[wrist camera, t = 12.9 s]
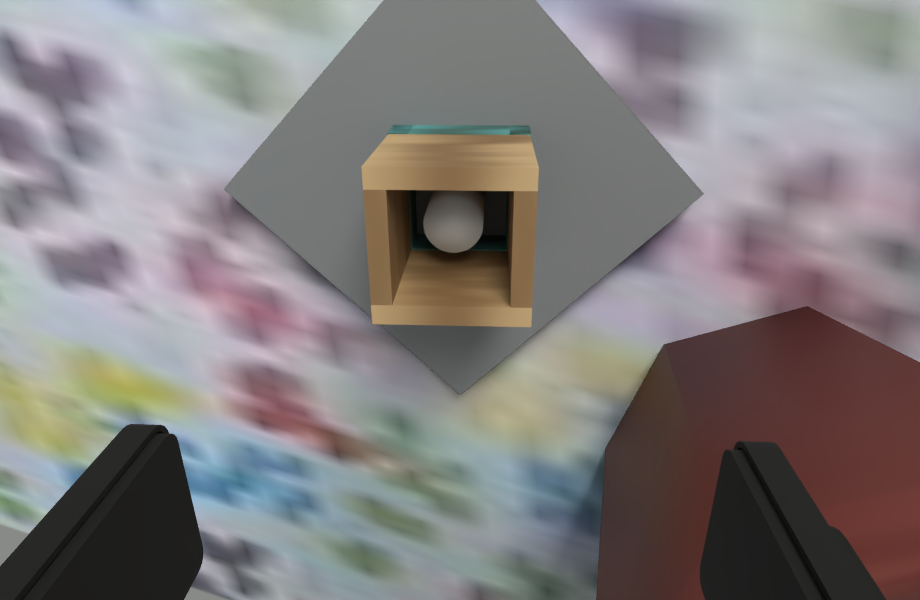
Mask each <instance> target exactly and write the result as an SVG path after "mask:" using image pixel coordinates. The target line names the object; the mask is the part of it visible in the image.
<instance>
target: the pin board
mask: <svg viewBox="0 0 920 600" xmlns="http://www.w3.org/2000/svg"><path fill="white" fill-rule="evenodd" d="M393 125H514V126H529V127H530V131H531V140H532V144H533V148H534V152H535V155H536V159H537V163H538V166H539V176H538V197H537V218H536V239H535V259H534V280H533V301H532V321H531V327H494V326H442V325H391V324H379V325H381V326H382V327H383V328H384V329H385V330H386V331H387V332H389V333H390V334H391V335H392V336H393V337H394V338H396V339H397V340H398V341H399V342H400V343H401V344H402V345H404V346H405V347H406V348H407V349H408V350H409V351H410V352H412V353H413V354H414V355H415V356H416V357H417V358H419V359H420V360H421V361H422V362H423V363H424V364H425V365H427V366H428V367H429V368H430V369H431V370H432V371H434V372H435V373H436V374H437V375H438V376H439V377H440V378H442V379H443V380H444V381H445V382H446V383H447V384H448V385H450V386H451V387H452V388H453V389H454V390H455V391H457V392H458V393H459V394H460V395H461V394H462V393H463V392H464V391H466V390H467V389H468V388H469V387H470V386H472V385H473V384H474V383H475V382H476V381H478V380H479V379H480V378H481V377H483V376H484V375H485V374H486V373H487V372H489V371H490V370H491V369H492V368H493V367H495V366H496V365H497V364H498V363H499V362H501V361H502V360H503V359H504V358H506V357H507V356H508V355H509V354H510V353H512V352H513V351H514V350H515V349H516V348H518V347H519V346H520V345H521V344H523V343H524V342H525V341H526V340H527V339H529V338H530V337H531V336H532V335H533V334H535V333H536V332H537V331H538V330H539V329H541V328H542V327H543V326H544V325H546V324H547V323H548V322H549V321H550V320H552V319H553V318H554V317H555V316H556V315H558V314H559V313H560V312H561V311H563V310H564V309H565V308H566V307H567V306H569V305H570V304H571V303H572V302H573V301H575V300H576V299H577V298H578V297H579V296H581V295H582V294H583V293H584V292H586V291H587V290H588V289H589V288H590V287H592V286H593V285H594V284H595V283H596V282H598V281H599V280H600V279H601V278H603V277H604V276H605V275H606V274H607V273H609V272H610V271H611V270H612V269H613V268H615V267H616V266H617V265H618V264H619V263H621V262H622V261H623V260H624V259H626V258H627V257H628V256H629V255H630V254H632V253H633V252H634V251H635V250H636V249H638V248H639V247H640V246H641V245H643V244H644V243H645V242H646V241H647V240H649V239H650V238H651V237H652V236H653V235H655V234H656V233H657V232H658V231H659V230H661V229H662V228H663V227H664V226H666V225H667V224H668V223H669V222H670V221H672V220H673V219H674V218H675V217H676V216H678V215H679V214H680V213H681V212H683V211H684V210H685V209H686V208H687V207H689V206H690V205H691V204H692V203H693V202H695V201H696V200H697V199H698V198H699V197H701V196H702V195H703V192H702V191H701V190H700V189H699V188H698V187H697V185H696V184H695V183H694V182H693V181H692V180H691V179H690V177H689V176H688V175H687V174H686V173H685V172H684V171H683V169H682V168H681V167H680V166H679V165H678V164H677V163H676V161H675V160H674V159H673V158H672V157H671V156H670V154H669V153H668V152H667V151H666V150H665V149H664V148H663V146H662V145H661V144H660V143H659V142H658V141H657V140H656V138H655V137H654V136H653V135H652V134H651V133H650V132H649V130H648V129H647V128H646V127H645V126H644V125H643V123H642V122H641V121H640V120H639V119H638V118H637V117H636V115H635V114H634V113H633V112H632V111H631V110H630V109H629V107H628V106H627V105H626V104H625V103H624V102H623V101H622V99H621V98H620V97H619V96H618V95H617V94H616V92H615V91H614V90H613V89H612V88H611V87H610V86H609V84H608V83H607V82H606V81H605V80H604V79H603V78H602V76H601V75H600V74H599V73H598V72H597V71H596V70H595V68H594V67H593V66H592V65H591V64H590V63H589V62H588V60H587V59H586V58H585V57H584V56H583V55H582V53H581V52H580V51H579V50H578V49H577V48H576V47H575V45H574V44H573V43H572V42H571V41H570V40H569V39H568V37H567V36H566V35H565V34H564V33H563V32H562V31H561V29H560V28H559V27H558V26H557V25H556V24H555V22H554V21H553V20H552V19H551V18H550V17H549V16H548V14H547V13H546V12H545V11H544V10H543V9H542V8H541V6H540V5H539V4H538V3H537V2H536V1H535V0H384V1H383V2H382V3H381V4H380V5H379V7H378V8H377V9H376V10H375V11H374V12H373V14H372V15H371V16H370V17H369V18H368V19H367V21H366V22H365V23H364V24H363V25H362V27H361V28H360V29H359V30H358V31H357V32H356V34H355V35H354V36H353V37H352V38H351V40H350V41H349V42H348V43H347V44H346V45H345V47H344V48H343V49H342V50H341V51H340V53H339V54H338V55H337V56H336V57H335V58H334V60H333V61H332V62H331V63H330V64H329V66H328V67H327V68H326V69H325V70H324V71H323V73H322V74H321V75H320V76H319V77H318V78H317V80H316V81H315V82H314V83H313V84H312V86H311V87H310V88H309V89H308V90H307V91H306V93H305V94H304V95H303V96H302V97H301V99H300V100H299V101H298V102H297V103H296V104H295V106H294V107H293V108H292V109H291V110H290V112H289V113H288V114H287V115H286V116H285V117H284V119H283V120H282V121H281V122H280V123H279V125H278V126H277V127H276V128H275V129H274V130H273V132H272V133H271V134H270V135H269V136H268V138H267V139H266V140H265V141H264V142H263V143H262V145H261V146H260V147H259V148H258V149H257V150H256V152H255V153H254V154H253V155H252V156H251V158H250V159H249V160H248V161H247V162H246V163H245V165H244V166H243V167H242V168H241V169H240V171H239V172H238V173H237V174H236V175H235V176H234V178H233V179H232V180H231V181H230V182H229V184H228V185H227V186H226V187H225V188H224V190H225V191H226V192H227V193H229V194H230V195H231V196H232V197H233V198H234V199H235V200H237V201H238V202H239V203H240V204H241V205H242V206H244V207H245V208H246V209H247V210H248V211H249V212H250V213H252V214H253V215H254V216H255V217H256V218H257V219H258V220H260V221H261V222H262V223H263V224H264V225H265V226H267V227H268V228H269V229H270V230H271V231H272V232H273V233H275V234H276V235H277V236H278V237H279V238H280V239H282V240H283V241H284V242H285V243H286V244H287V245H288V246H290V247H291V248H292V249H293V250H294V251H295V252H296V253H298V254H299V255H300V256H301V257H302V258H303V259H305V260H306V261H307V262H308V263H309V264H310V265H311V266H313V267H314V268H315V269H316V270H317V271H318V272H320V273H321V274H322V275H323V276H324V277H325V278H326V279H328V280H329V281H330V282H331V283H332V284H333V285H334V286H336V287H337V288H338V289H339V290H340V291H341V292H343V293H344V294H345V295H346V296H347V297H348V298H349V299H351V300H352V301H353V302H354V303H355V304H356V305H358V306H359V307H360V308H361V309H362V310H363V311H364V312H366V313H367V314H368V315H369V316H370V317H371V318H372V313H371V298H370V284H369V269H368V255H367V240H366V226H365V211H364V197H363V182H362V167H361V166H362V165H363V164H364V163H365V162H366V160H367V159H368V158H369V157H370V156H371V154H372V153H373V152H374V151H375V150H376V148H377V147H378V146H379V145H380V143H381V142H382V141H383V140H384V139H385V137H386V136H387V132H388V131H389V130H390V129H391V128H392V126H393ZM506 210H507V191H455V190H416V213H417V234H426V236H427V238H428V240H429V241H430V242H431V243H432V244H433V245H434V246H435V247H436V248H438V249H440V250H442V251H445V252H449V253H458V252H463V251H466V250H468V249H470V248H471V247H472V246H474V245H475V244H476V243H477V241H478V240H479V238H480V237H481V235H505V236H506Z"/></svg>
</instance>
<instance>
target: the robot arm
mask: <svg viewBox="0 0 920 600" xmlns="http://www.w3.org/2000/svg"><path fill="white" fill-rule="evenodd" d="M202 560H203V545H202V541H201V537H200V533H199V528H198V524H197V520H196V516H195V511H194V507H193V503H192V499H191V494H190V490H189V486H188V482H187V477H186V473H185V469H184V465H183V461H182V456H181V452H180V448H179V444H178V440H177V437H176V436H175V435H174V434H169V432H168V430H167V429H166V427H165V426H162V425H143V424H130V425H127V426H126V427H124V428H123V429H122V430H121V431H120V432H119V434H118V435H117V436H116V437H115V438H114V439H113V440H112V441H111V442H110V444H109V445H108V446H107V447H106V448H105V449H104V450H103V451H102V453H101V454H100V455H99V456H98V457H97V458H96V459H95V460H94V462H93V463H92V464H91V465H90V466H89V467H88V468H87V469H86V471H85V472H84V473H83V474H82V475H81V476H80V477H79V478H78V480H77V481H76V482H75V483H74V484H73V485H72V486H71V487H70V489H69V490H68V491H67V492H66V493H65V494H64V495H63V496H62V498H61V499H60V500H59V501H58V502H57V503H56V504H55V505H54V507H53V508H52V509H51V510H50V511H49V512H48V513H47V514H46V516H45V517H44V518H43V519H42V520H41V521H40V522H39V523H38V525H37V526H36V527H35V528H34V529H33V530H32V531H31V532H30V534H29V535H28V536H27V537H26V538H25V539H24V540H23V541H22V543H21V544H20V545H19V546H18V547H17V548H16V549H15V551H14V552H13V553H12V554H11V555H10V556H9V557H8V558H7V559H6V561H5V562H4V563H3V564H2V565H1V566H0V600H184V598H185V597H186V594H187V593H188V591H189V589H190V587H191V585H192V583H193V581H194V580H195V578H196V576H197V574H198V572H199V570H200V567H201V564H202ZM700 584H701V588H702V592H703V595H704V598H705V600H886V598H885V597H884V595H883V594H882V592H881V590H880V589H879V587H878V586H877V584H876V583H875V581H874V580H873V578H872V577H871V575H870V574H869V572H868V571H867V569H866V567H865V566H864V564H863V563H862V561H861V560H860V558H859V557H858V555H857V554H856V552H855V551H854V549H853V548H852V546H851V544H850V543H849V541H848V540H847V538H846V537H845V536H844V535H843V534H842V532H841V531H840V530H838V529H837V528H835V527H833V526H829V524H828V523H827V521H826V520H825V518H824V517H823V515H822V513H821V512H820V510H819V509H818V507H817V506H816V504H815V502H814V501H813V499H812V498H811V496H810V495H809V493H808V491H807V490H806V488H805V487H804V485H803V484H802V482H801V480H800V479H799V477H798V476H797V474H796V472H795V471H794V469H793V468H792V466H791V465H790V463H789V461H788V460H787V458H786V457H785V455H784V454H783V452H782V450H781V449H780V447H779V446H778V445H777V444H776V443H774V442H757V441H739V442H737V443H736V444H735V446H734V449H733V450H725V451H724V453H723V456H722V461H721V466H720V470H719V475H718V480H717V485H716V490H715V495H714V500H713V505H712V510H711V515H710V519H709V524H708V529H707V534H706V539H705V544H704V549H703V554H702V559H701V564H700Z"/></svg>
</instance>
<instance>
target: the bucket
mask: <svg viewBox="0 0 920 600" xmlns="http://www.w3.org/2000/svg"><path fill="white" fill-rule="evenodd" d="M739 441H757V442H774V443H776V444H777V445H778V446H779V447H780V449H781V450H782V452H783V454H784V455H785V457H786V458H787V460H788V461H789V463H790V465H791V466H792V468H793V469H794V471H795V472H796V474H797V476H798V477H799V479H800V480H801V482H802V484H803V485H804V487H805V488H806V490H807V491H808V493H809V495H810V496H811V498H812V499H813V501H814V502H815V504H816V506H817V507H818V509H819V510H820V512H821V513H822V515H823V517H824V518H825V520H826V521H827V523H828V524H829V526H833V527H835V528H837V529H838V530H840V531H841V532H842V534H843V535H844V536H845V537H846V538H847V540H848V541H849V543H850V544H851V546H852V548H853V549H854V551H855V552H856V554H857V555H858V557H859V558H860V560H861V561H862V563H863V564H864V566H865V567H866V569H867V571H868V572H869V574H870V575H871V577H872V578H873V580H874V581H875V583H876V584H877V586H878V587H879V589H880V590H881V592H882V594H883V595H884V597H885V598H886V600H920V362H918V361H916V360H914V359H912V358H910V357H908V356H906V355H904V354H902V353H900V352H898V351H896V350H894V349H892V348H890V347H888V346H886V345H884V344H882V343H880V342H878V341H876V340H874V339H872V338H870V337H868V336H866V335H864V334H862V333H860V332H858V331H856V330H854V329H852V328H850V327H848V326H846V325H844V324H842V323H840V322H838V321H836V320H834V319H832V318H830V317H828V316H826V315H824V314H822V313H820V312H818V311H816V310H814V309H812V308H810V307H808V306H807V307H803V308H799V309H795V310H792V311H788V312H784V313H780V314H777V315H773V316H769V317H765V318H762V319H758V320H754V321H750V322H747V323H743V324H739V325H736V326H732V327H728V328H724V329H721V330H717V331H713V332H709V333H706V334H702V335H698V336H694V337H691V338H687V339H683V340H679V341H676V342H672V343H668V344H664V345H663V347H662V349H661V351H660V352H659V354H658V356H657V358H656V360H655V361H654V363H653V365H652V367H651V369H650V370H649V372H648V374H647V376H646V377H645V379H644V381H643V383H642V385H641V386H640V388H639V390H638V392H637V393H636V395H635V397H634V399H633V401H632V402H631V404H630V406H629V408H628V409H627V411H626V413H625V415H624V417H623V418H622V420H621V422H620V424H619V426H618V427H617V429H616V431H615V433H614V434H613V436H612V438H611V440H610V442H609V443H608V445H607V447H606V450H605V466H604V482H603V499H602V515H601V531H600V547H599V563H598V580H597V596H596V600H705V598H704V595H703V592H702V588H701V584H700V564H701V559H702V554H703V549H704V544H705V539H706V534H707V529H708V524H709V519H710V515H711V510H712V505H713V500H714V495H715V490H716V485H717V480H718V475H719V470H720V466H721V461H722V456H723V453H724V451H725V450H733V449H734V446H735V444H736V443H737V442H739Z"/></svg>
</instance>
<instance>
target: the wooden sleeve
mask: <svg viewBox="0 0 920 600" xmlns="http://www.w3.org/2000/svg"><path fill="white" fill-rule="evenodd" d="M361 167H362V182H363V197H364V211H365V226H366V240H367V255H368V269H369V284H370V298H371V313H372V324H391V325H442V326H494V327H531V321H532V301H533V280H534V259H535V239H536V218H537V197H538V176H539V166H538V163H537V159H536V155H535V152H534V148H533V144H532V140H531V131H530V127H529V126H514V125H393V126H392V128H391V129H390V130H389V131H388V132H387V136H386V137H385V139H384V140H383V141H382V142H381V143H380V145H379V146H378V147H377V148H376V150H375V151H374V152H373V153H372V154H371V156H370V157H369V158H368V159H367V160H366V162H365V163H364V164H363V165H362V166H361ZM416 190H455V191H507V210H506V236H505V235H481V237H480V238H479V240H478V241H477V243H476V244H475V245H474V246H472V247H471V248H470V249H468V250H466V251H463V252H458V253H449V252H445V251H442V250H440V249H438V248H436V247H435V246H434V245H433V244H432V243H431V242H430V241H429V240H428V238H427V236H426V234H417V213H416Z"/></svg>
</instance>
